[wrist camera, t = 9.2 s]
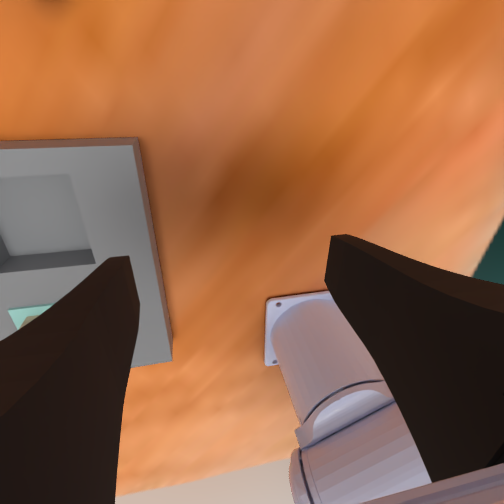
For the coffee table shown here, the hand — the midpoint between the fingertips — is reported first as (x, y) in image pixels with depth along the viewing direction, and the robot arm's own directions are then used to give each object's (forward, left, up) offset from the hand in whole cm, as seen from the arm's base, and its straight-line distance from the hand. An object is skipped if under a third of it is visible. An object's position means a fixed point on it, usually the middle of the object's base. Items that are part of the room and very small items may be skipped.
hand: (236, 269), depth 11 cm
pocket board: (+10, +5, -10) cm, 15 cm away
